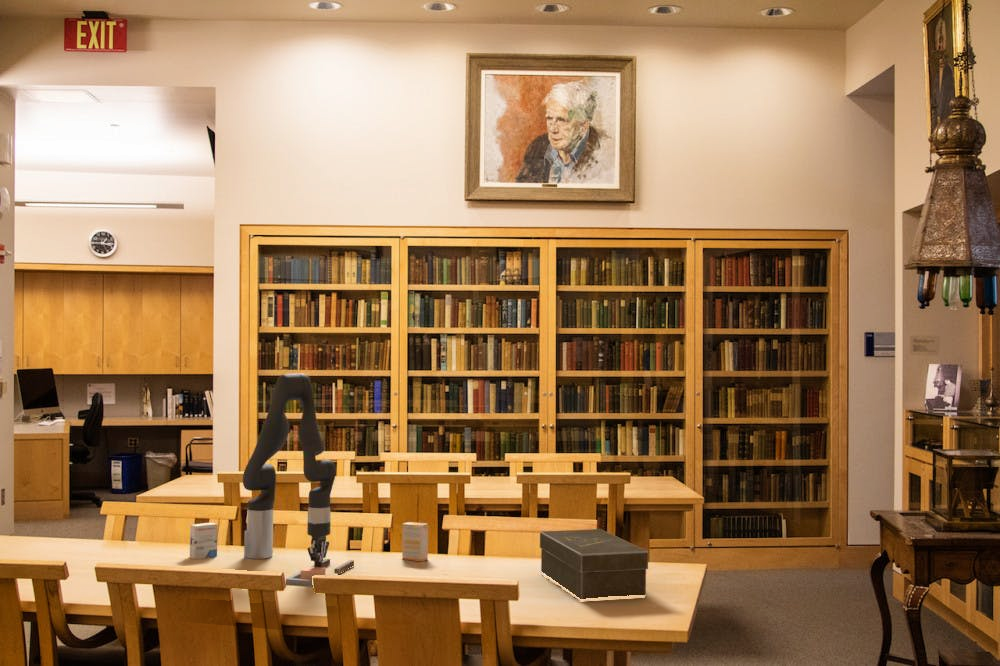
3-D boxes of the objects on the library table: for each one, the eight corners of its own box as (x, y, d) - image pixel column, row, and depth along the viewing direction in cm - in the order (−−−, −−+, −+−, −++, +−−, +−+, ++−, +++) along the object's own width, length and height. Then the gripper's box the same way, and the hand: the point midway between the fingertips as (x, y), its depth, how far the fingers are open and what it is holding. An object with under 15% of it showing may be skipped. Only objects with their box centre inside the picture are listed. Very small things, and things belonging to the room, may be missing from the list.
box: (580, 603, 308) (581, 554, 308) (539, 575, 346) (539, 531, 346) (648, 599, 315) (648, 551, 315) (600, 572, 352) (600, 528, 352)
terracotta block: (300, 582, 330) (300, 570, 330) (308, 578, 335) (308, 566, 336) (317, 584, 328) (318, 571, 328) (325, 579, 334) (325, 567, 334)
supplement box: (428, 559, 367) (428, 523, 367) (421, 562, 363) (422, 525, 363) (408, 557, 371) (408, 521, 371) (401, 559, 366) (402, 523, 367)
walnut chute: (309, 572, 343) (309, 567, 343) (325, 564, 356) (326, 558, 357) (338, 575, 340) (338, 569, 341) (353, 566, 354) (353, 560, 354)
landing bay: (284, 583, 327) (284, 579, 327) (301, 575, 339) (301, 570, 339) (322, 586, 324) (322, 581, 324) (337, 577, 336) (337, 573, 336)
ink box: (211, 554, 371) (212, 521, 371) (217, 556, 367) (218, 524, 367) (189, 557, 365) (189, 524, 366) (194, 559, 361) (195, 526, 362)
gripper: (316, 516, 344) (315, 567, 344) (300, 523, 331) (299, 576, 331) (337, 517, 343) (336, 569, 342) (321, 524, 330) (320, 577, 330)
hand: (318, 572), depth 337 cm, fingers closed
